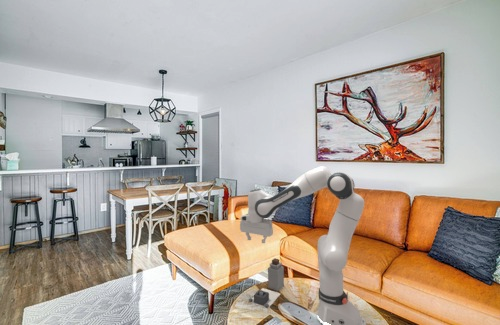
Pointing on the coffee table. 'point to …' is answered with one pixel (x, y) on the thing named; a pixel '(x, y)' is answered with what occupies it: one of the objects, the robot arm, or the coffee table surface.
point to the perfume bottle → (275, 275)
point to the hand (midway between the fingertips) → (256, 241)
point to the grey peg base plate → (272, 298)
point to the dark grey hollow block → (261, 298)
